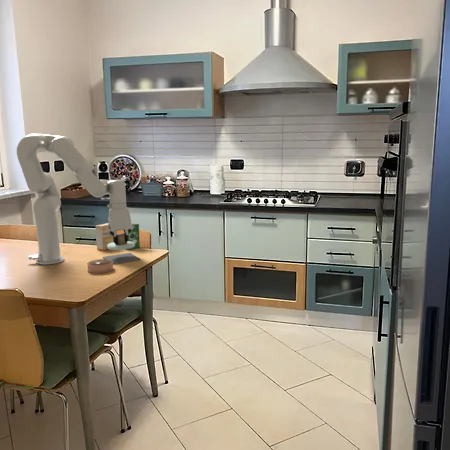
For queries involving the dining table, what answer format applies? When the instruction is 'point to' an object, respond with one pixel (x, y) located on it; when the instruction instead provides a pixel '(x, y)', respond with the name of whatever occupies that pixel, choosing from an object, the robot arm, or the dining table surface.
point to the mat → (122, 258)
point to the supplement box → (103, 237)
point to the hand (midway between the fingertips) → (120, 243)
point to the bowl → (100, 266)
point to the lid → (121, 243)
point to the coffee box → (134, 236)
